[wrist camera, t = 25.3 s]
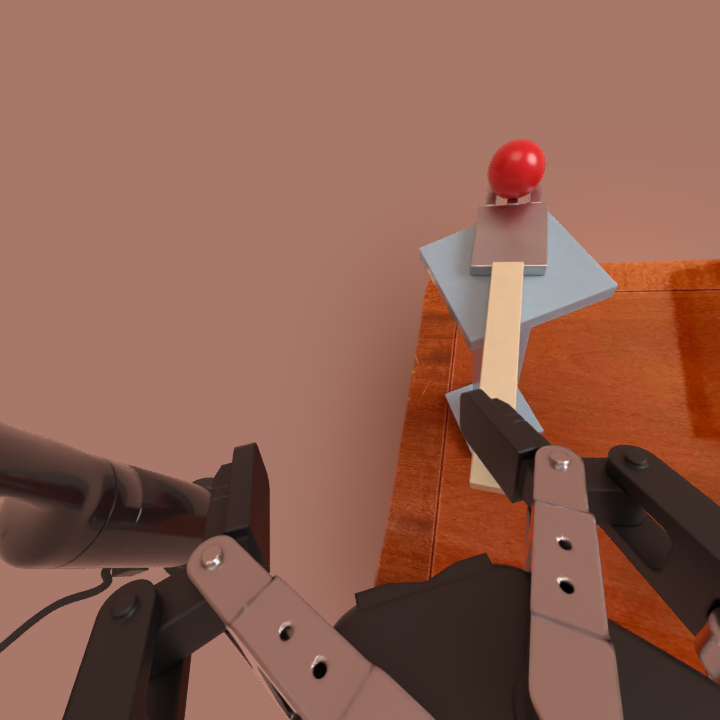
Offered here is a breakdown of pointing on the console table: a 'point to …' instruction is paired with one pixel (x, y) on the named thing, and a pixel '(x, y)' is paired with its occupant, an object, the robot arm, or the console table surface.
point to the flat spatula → (507, 269)
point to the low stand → (539, 296)
